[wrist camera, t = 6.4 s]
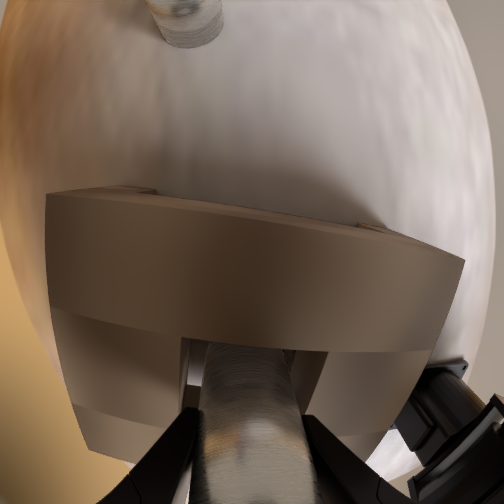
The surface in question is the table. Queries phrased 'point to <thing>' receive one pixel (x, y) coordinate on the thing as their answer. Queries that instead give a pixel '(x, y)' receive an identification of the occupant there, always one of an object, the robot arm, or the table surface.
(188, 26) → the short pin
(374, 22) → the table surface
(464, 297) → the table surface
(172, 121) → the table surface
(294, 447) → the long pin
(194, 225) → the board
